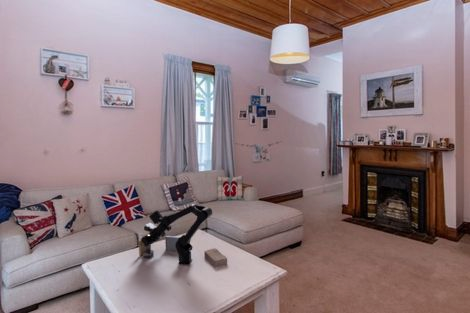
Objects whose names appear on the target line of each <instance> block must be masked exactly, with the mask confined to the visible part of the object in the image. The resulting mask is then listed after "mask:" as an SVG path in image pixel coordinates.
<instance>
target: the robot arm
mask: <svg viewBox="0 0 470 313" xmlns="http://www.w3.org/2000/svg"><path fill="white" fill-rule="evenodd" d="M191 213H192V214H194V215H195V216H196V219H195V221H194V223H193V224H192V225H191V226H190V228H189V229H188V231H187V232H186V233H185V234H183V235H181V236H178V237H179V239H178V241H177V242H176V244H175V246H176V249H177V255H178V264H180V265H190V264H191V262H192V261H193V259H192V250H193V246H192V244H191V242H192V238H193V237H194V236H195V234H196V233H197V231H198V230H199V229H200V228H201V226H202V225H203V223H204V222H205V221H207V220H208V219H209V218H210V217H211V216H213V210H212V208H210V207H208V206H207V207H206V206H204V205H198V204H196V203H192V204H191V205H189V206H187V207H186V208H184V209H181V210H178V211H177V212H173V213H170V214H168V215H162V214H161V213H160V212H159V210H157V209H156V210H155V211H154V212H152V213H151V214H149V217H148V218H149V219H150V220H151V222H152V223H151V222H148V223H146V224H145V225H144V226H143V229H144V231H146V232H148V234H150V236H148V234H146V235H144V236H142V237H141V238H140V239H141V241H142V242H143V243H144V246H146V247H148V246H149V245H151V246H152V245H153V244H154V243H155V242H157V241H159V240H161V239H162V238H164V237H166V231H167V232H169V231H171V230H172V224H174V223H175V222H177V221H178V220H179V219H181V218H182V217H186V215H188V214H191ZM156 225H157V226H156Z"/></svg>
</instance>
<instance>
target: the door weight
mask: <svg viewBox="0 0 470 313" xmlns="http://www.w3.org/2000/svg"><path fill="white" fill-rule="evenodd" d="M147 235H148V234H147ZM148 236H150V235H148ZM154 252H155V251H154V250H153V249H152V244H151V245H149V246H148V247H146V251H144V252H143V255H142V256H143V258H151V257H154Z"/></svg>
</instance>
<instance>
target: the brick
mask: <svg viewBox="0 0 470 313" xmlns="http://www.w3.org/2000/svg"><path fill="white" fill-rule="evenodd" d="M203 252H204V258H205V260H207V261H208V262H209V263H210V264H211V265H213V266H214V267H215V268H220V267H223V266H227V265H228V257H227V256H226V255H224V254H222V253H221V252H220V251H219V249H218V248H216V247H215V248H210V249H207V250H204V251H203Z"/></svg>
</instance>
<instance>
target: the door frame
mask: <svg viewBox="0 0 470 313" xmlns="http://www.w3.org/2000/svg"><path fill="white" fill-rule="evenodd" d="M164 237H165V238H164V239H165V242H164V243H165V251H177V249H176V246H175V244H176V242H177V241H178V239H179V237H180V236H175V235H173V236H172V235H165V236H164Z"/></svg>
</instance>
